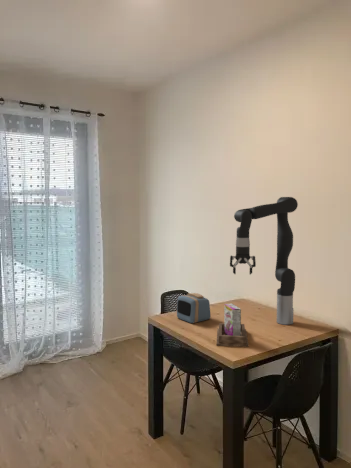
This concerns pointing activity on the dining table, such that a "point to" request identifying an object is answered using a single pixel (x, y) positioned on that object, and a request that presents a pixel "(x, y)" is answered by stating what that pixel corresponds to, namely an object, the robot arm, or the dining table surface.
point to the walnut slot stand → (231, 337)
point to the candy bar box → (232, 320)
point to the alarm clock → (193, 308)
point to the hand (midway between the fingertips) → (242, 274)
